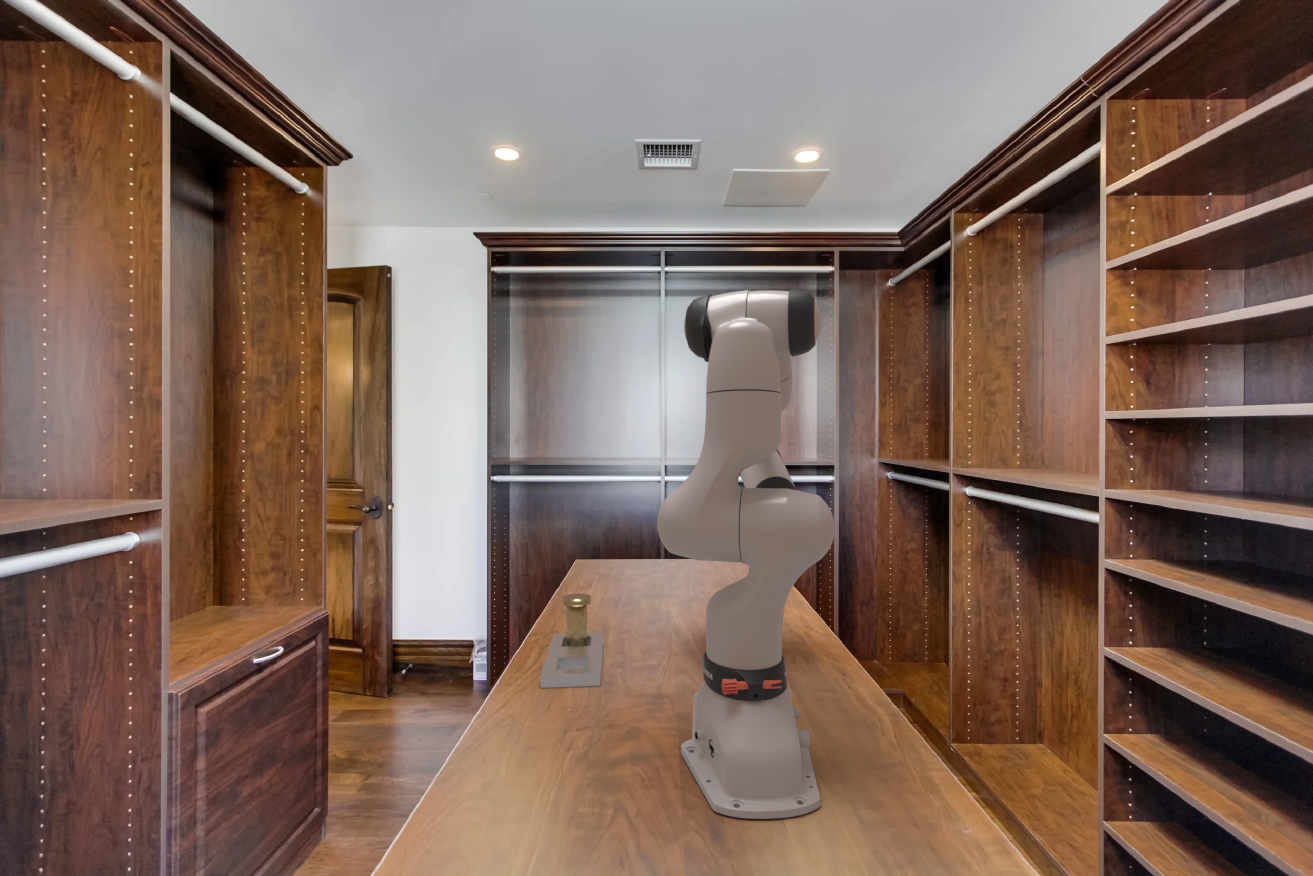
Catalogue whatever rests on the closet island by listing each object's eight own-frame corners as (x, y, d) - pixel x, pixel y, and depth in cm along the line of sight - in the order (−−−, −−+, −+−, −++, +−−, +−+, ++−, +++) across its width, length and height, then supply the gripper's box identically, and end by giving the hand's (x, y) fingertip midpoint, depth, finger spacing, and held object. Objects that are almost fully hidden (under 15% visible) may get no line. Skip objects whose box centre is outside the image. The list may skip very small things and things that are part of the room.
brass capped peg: (590, 657, 122) (589, 600, 122) (561, 658, 122) (561, 601, 122) (591, 647, 128) (591, 593, 128) (564, 648, 128) (564, 593, 127)
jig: (600, 686, 108) (599, 672, 108) (540, 688, 107) (540, 674, 107) (603, 643, 130) (603, 632, 130) (553, 645, 129) (553, 634, 129)
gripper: (719, 502, 134) (659, 503, 133) (737, 514, 114) (667, 515, 113) (719, 529, 134) (659, 530, 133) (737, 546, 114) (667, 548, 113)
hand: (663, 523), depth 123 cm, fingers open, 8 cm apart
